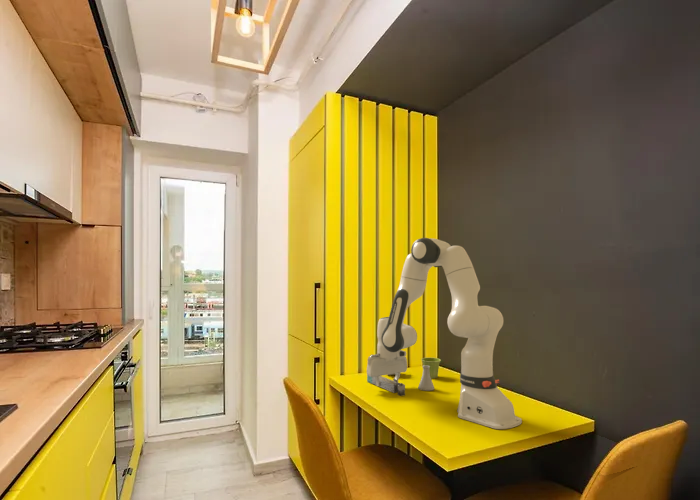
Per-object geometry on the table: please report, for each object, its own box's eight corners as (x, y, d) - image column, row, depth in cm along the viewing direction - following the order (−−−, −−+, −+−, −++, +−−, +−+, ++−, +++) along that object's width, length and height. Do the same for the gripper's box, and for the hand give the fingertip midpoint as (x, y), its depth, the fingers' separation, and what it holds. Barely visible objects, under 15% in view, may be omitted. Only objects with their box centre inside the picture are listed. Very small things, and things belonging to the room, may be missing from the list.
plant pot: (440, 380, 188) (440, 362, 189) (420, 378, 191) (420, 360, 191) (441, 375, 197) (441, 358, 198) (422, 374, 200) (422, 356, 200)
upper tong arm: (397, 392, 167) (397, 384, 167) (393, 393, 166) (393, 384, 167) (370, 380, 185) (370, 373, 185) (367, 381, 184) (367, 373, 185)
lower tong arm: (401, 391, 168) (401, 383, 169) (397, 392, 167) (397, 384, 168) (373, 380, 186) (373, 373, 186) (370, 380, 185) (370, 373, 185)
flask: (433, 386, 177) (433, 364, 178) (435, 391, 170) (435, 368, 170) (417, 386, 178) (417, 364, 178) (418, 391, 170) (418, 367, 171)
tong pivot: (406, 394, 165) (406, 383, 165) (400, 396, 163) (400, 384, 163) (401, 393, 167) (401, 382, 168) (395, 394, 166) (395, 383, 166)
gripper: (372, 356, 167) (372, 389, 166) (409, 351, 177) (409, 382, 176) (363, 353, 172) (363, 385, 171) (400, 349, 182) (400, 379, 182)
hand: (387, 384), depth 174 cm, fingers open, 8 cm apart
